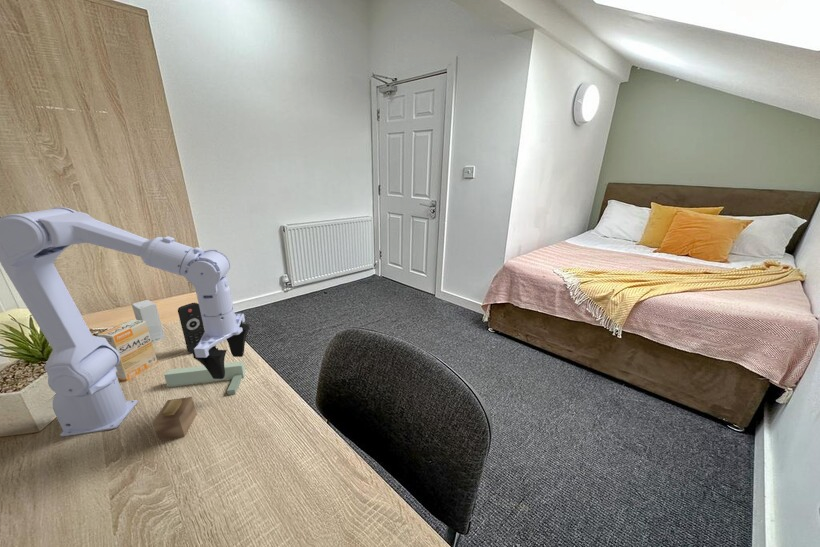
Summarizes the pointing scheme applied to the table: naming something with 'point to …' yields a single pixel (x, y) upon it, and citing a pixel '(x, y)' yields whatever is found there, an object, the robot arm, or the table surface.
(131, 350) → the supplement box
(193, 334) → the remote control
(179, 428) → the brown block
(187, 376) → the green l-shaped block
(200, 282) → the robot arm
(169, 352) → the table surface
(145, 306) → the skincare box
